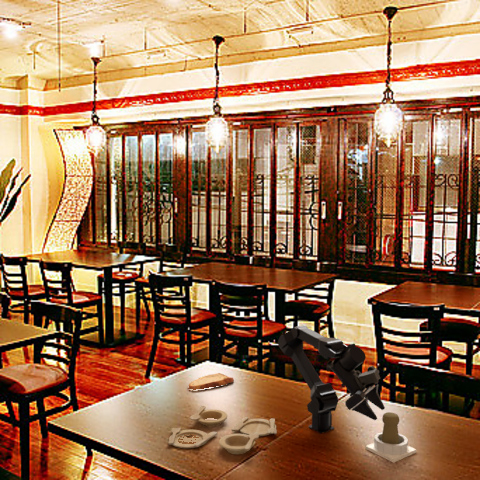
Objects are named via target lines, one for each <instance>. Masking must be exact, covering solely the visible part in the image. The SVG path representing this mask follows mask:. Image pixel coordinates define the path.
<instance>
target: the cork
mask: <svg viewBox="0 0 480 480" xmlns="http://www.w3.org/2000/svg"><path fill="white" fill-rule="evenodd" d="M381 420H382V423H383V429H382V432H383V433H382V440H381V441H382V442H384V443H387V444H400V443H399V434H400V433H399V428H398V427H399V423H400V417H399V415H398V413H395V412H392V411H391V412H390V411H389V412H385V413H383V414H382V418H381ZM398 433H399V434H398Z"/></svg>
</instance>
